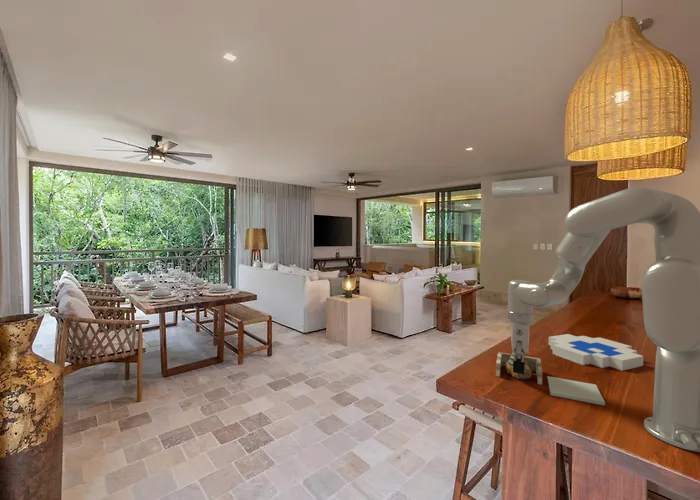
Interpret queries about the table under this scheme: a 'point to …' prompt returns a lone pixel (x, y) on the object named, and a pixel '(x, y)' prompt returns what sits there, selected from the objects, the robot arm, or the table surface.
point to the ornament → (517, 375)
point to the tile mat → (575, 390)
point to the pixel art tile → (595, 351)
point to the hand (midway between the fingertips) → (518, 367)
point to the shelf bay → (531, 361)
